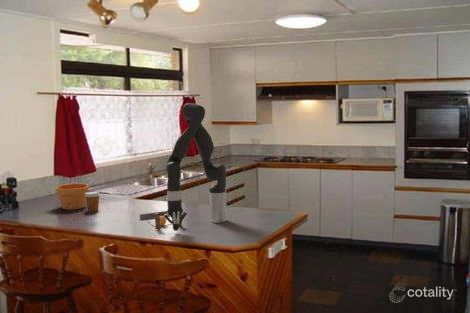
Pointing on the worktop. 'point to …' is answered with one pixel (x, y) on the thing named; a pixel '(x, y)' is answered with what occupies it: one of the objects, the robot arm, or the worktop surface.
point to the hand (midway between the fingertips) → (175, 230)
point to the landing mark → (168, 222)
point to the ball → (162, 220)
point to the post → (157, 221)
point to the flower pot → (72, 195)
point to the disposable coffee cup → (92, 200)
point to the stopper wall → (152, 214)
